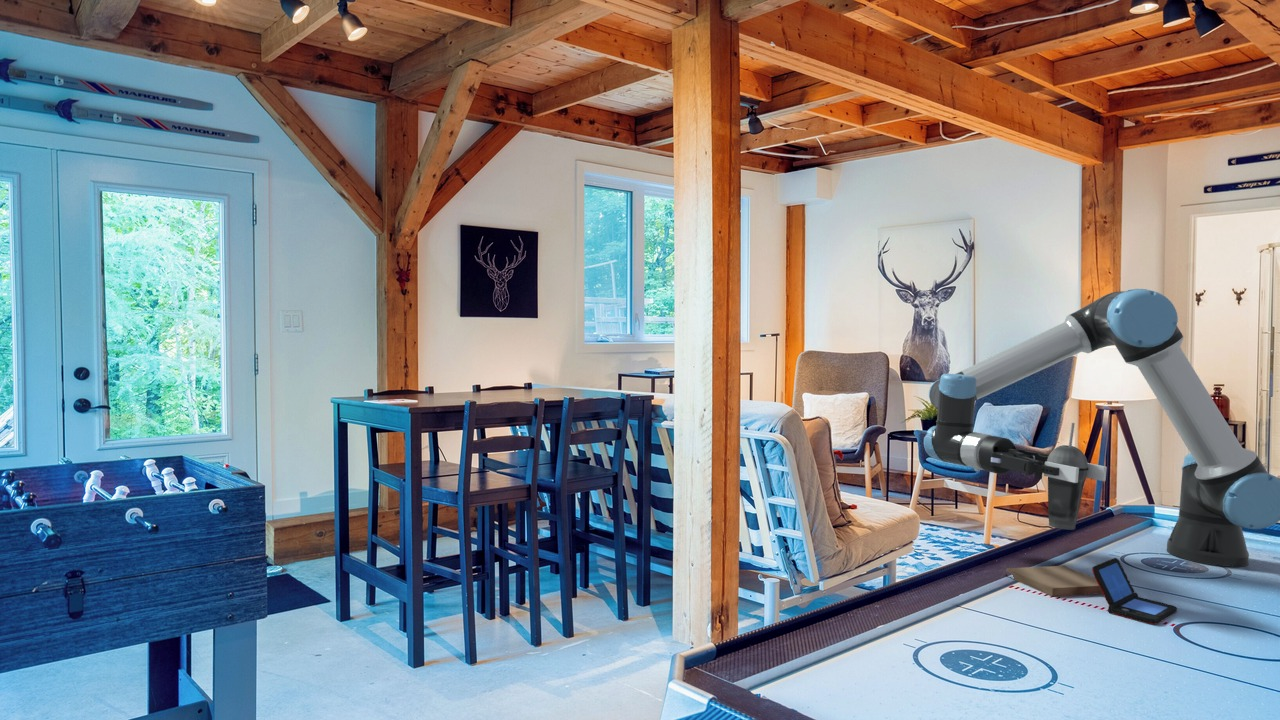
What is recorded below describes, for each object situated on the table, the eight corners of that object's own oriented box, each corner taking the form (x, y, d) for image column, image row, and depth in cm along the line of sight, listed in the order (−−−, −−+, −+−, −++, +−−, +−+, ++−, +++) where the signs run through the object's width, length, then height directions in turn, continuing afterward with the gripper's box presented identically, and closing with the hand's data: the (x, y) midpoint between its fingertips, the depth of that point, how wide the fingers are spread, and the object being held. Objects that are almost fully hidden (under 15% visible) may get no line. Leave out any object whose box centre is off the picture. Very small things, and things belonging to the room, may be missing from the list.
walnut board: (1063, 573, 168) (1064, 565, 168) (1113, 592, 157) (1113, 585, 157) (1005, 575, 164) (1006, 568, 164) (1052, 596, 153) (1052, 588, 153)
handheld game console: (1155, 627, 140) (1159, 583, 139) (1086, 608, 148) (1089, 567, 147) (1179, 612, 148) (1182, 571, 148) (1112, 595, 156) (1115, 556, 156)
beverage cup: (1073, 523, 163) (1082, 421, 162) (1090, 532, 156) (1099, 425, 155) (1034, 520, 164) (1043, 418, 163) (1049, 529, 157) (1058, 423, 156)
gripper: (1021, 469, 180) (1123, 492, 160) (953, 472, 171) (1052, 497, 151) (1023, 434, 180) (1127, 453, 159) (955, 436, 171) (1056, 455, 150)
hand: (1090, 474), depth 155 cm, fingers closed on beverage cup, 7 cm apart
